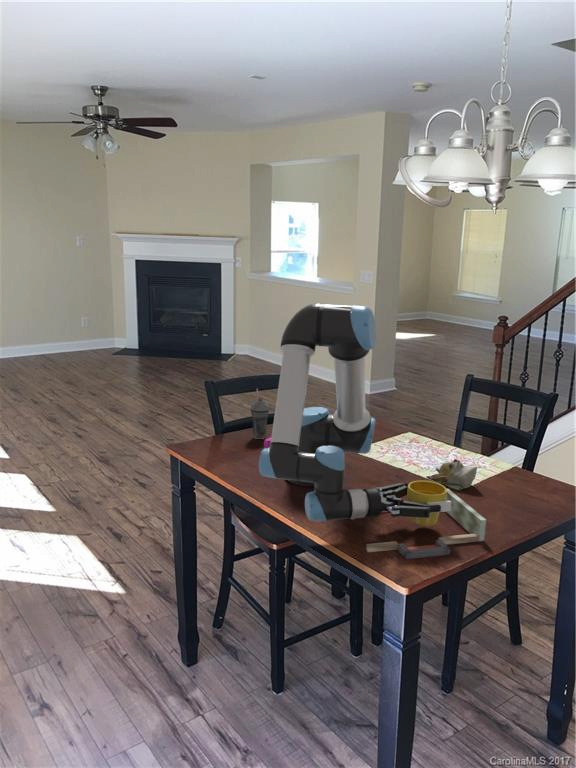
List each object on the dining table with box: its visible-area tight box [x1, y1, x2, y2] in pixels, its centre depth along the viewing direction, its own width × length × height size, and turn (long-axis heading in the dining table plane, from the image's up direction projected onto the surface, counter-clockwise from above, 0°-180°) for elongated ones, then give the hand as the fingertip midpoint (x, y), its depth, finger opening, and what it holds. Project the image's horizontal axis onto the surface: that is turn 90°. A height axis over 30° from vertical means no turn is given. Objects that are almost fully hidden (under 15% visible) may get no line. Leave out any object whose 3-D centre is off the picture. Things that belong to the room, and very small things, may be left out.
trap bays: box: [381, 511, 451, 560], centre depth 168 cm, size 31×12×2 cm, turn 13°
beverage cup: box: [250, 388, 270, 438], centre depth 239 cm, size 7×7×20 cm
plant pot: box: [406, 480, 448, 527], centre depth 167 cm, size 10×10×10 cm
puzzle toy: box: [263, 436, 272, 449], centre depth 223 cm, size 6×6×6 cm
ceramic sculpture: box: [425, 458, 478, 489], centre depth 200 cm, size 11×9×15 cm
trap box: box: [365, 488, 487, 553], centre depth 168 cm, size 21×32×6 cm, turn 103°
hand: (440, 497), depth 168 cm, fingers closed on plant pot, 10 cm apart
